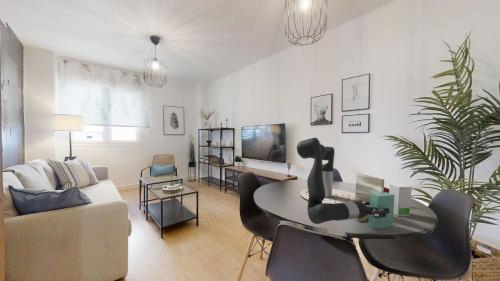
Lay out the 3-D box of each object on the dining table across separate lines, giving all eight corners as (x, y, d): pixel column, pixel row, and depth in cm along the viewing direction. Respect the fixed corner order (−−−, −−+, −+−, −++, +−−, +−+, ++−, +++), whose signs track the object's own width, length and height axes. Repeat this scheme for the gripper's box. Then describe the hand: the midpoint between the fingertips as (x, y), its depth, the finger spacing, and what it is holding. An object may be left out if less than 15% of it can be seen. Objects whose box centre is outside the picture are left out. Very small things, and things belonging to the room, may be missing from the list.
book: (375, 229, 92) (377, 196, 92) (368, 225, 96) (370, 193, 95) (392, 226, 95) (394, 194, 95) (384, 222, 99) (386, 192, 98)
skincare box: (397, 216, 107) (399, 187, 107) (386, 211, 114) (388, 183, 113) (410, 215, 109) (412, 186, 108) (399, 210, 116) (401, 183, 115)
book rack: (358, 221, 99) (360, 181, 98) (335, 209, 115) (337, 173, 114) (381, 218, 104) (384, 179, 103) (356, 207, 119) (358, 173, 118)
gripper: (365, 207, 83) (395, 204, 88) (340, 196, 97) (367, 194, 102) (364, 226, 84) (394, 221, 88) (339, 212, 97) (366, 209, 102)
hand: (379, 207), depth 95 cm, fingers open, 8 cm apart
